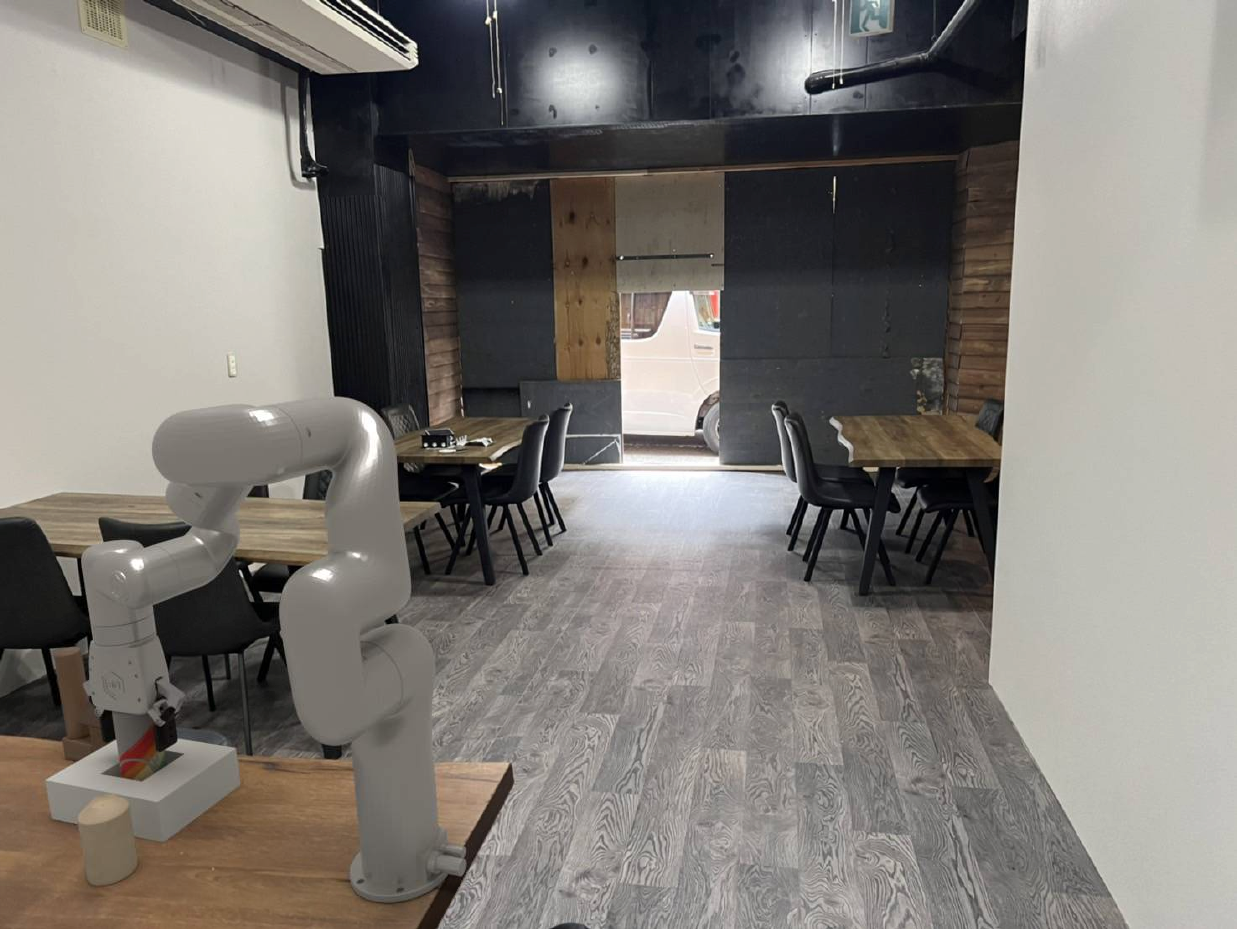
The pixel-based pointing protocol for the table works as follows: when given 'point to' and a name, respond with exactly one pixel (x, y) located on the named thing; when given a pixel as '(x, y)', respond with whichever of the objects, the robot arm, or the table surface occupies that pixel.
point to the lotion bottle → (137, 746)
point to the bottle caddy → (149, 787)
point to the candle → (107, 840)
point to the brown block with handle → (77, 706)
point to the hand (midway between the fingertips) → (140, 742)
